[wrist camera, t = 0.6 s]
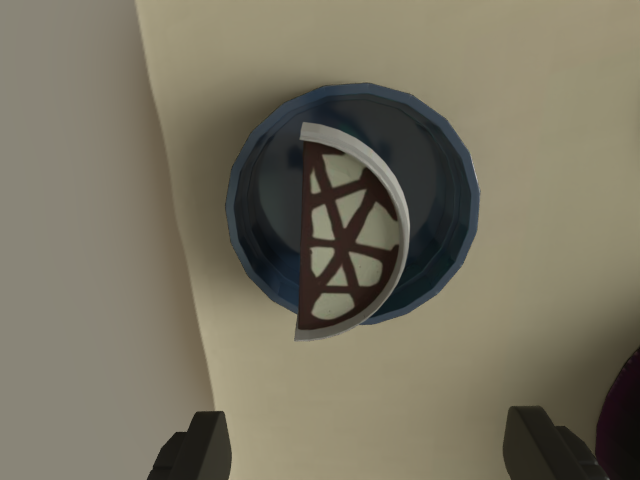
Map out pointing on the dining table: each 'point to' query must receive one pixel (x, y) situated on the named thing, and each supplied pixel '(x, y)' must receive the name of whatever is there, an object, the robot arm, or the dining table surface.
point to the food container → (346, 233)
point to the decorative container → (621, 425)
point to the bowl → (402, 159)
